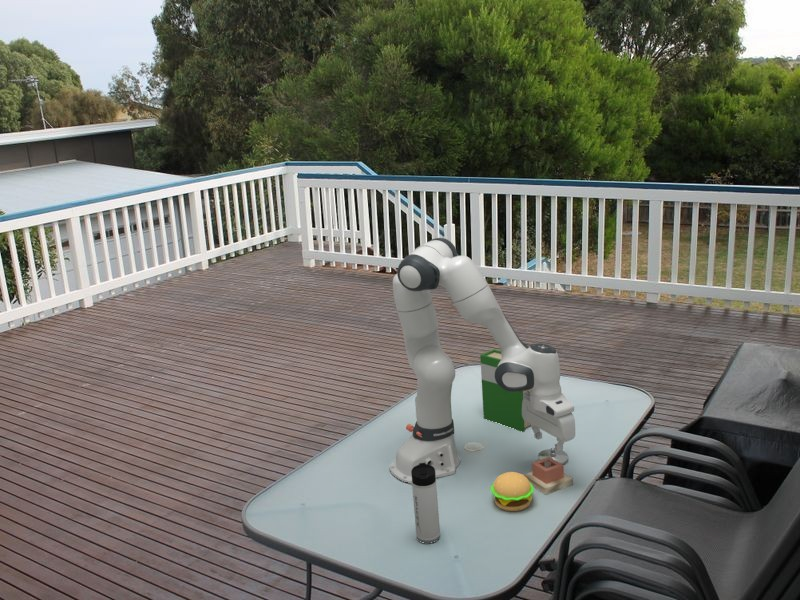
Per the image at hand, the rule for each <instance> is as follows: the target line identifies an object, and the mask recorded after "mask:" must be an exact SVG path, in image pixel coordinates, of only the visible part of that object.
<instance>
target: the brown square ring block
mask: <svg viewBox="0 0 800 600" xmlns="http://www.w3.org/2000/svg"><path fill="white" fill-rule="evenodd" d="M545 461H550V462H551V467H549V468H546V467H545V463H544V462H545ZM531 466H532V467H531V468H532V469H531V470H532V471H531V472H532V475H533V476H534V477H536V478H538V479H539V480H541V481H542V482H544V483H545V484H548V483H551V482H553V481H556V480H559V479H561V478H564V471H565V469H564V465H562V464H561V463H559V462H557V461H556V460H554V459H552V458H550V457H547V458H545V459H542V460H537V461H534V462H531Z"/></svg>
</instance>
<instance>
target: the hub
mask: <svg viewBox="0 0 800 600" xmlns="http://www.w3.org/2000/svg"><path fill="white" fill-rule="evenodd" d="M537 457H538V458H537V459H538V460H537V461H539V460H542V459H545V458H547V457H550V458H552V459H554V460H556V461H557V462H559V463H561V464H562V465H566V464H568V462H569V455H568V453H567V452H566V451H564V450H562V451H558V450H556V449H555V447H551V448H547V449H544V450H541V451H540V452H538V455H537Z"/></svg>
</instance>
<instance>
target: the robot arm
mask: <svg viewBox="0 0 800 600" xmlns="http://www.w3.org/2000/svg"><path fill="white" fill-rule="evenodd" d="M396 272H397V273H396V274H395V275H394V276H393V278H392V291H393V292H392V293H393V298H394V303H395V308H396V312H397V315H398V319H399V323H400V326H401V330H402V335H403V340H404V342H403V343H404V347H405V352H406V358H407V362H408V363H407V364H408V365H409V367H410V368H411V370H412V371H413V372H414V374H415V377H416V380H417V382H416V383H417V387H416V388H417V389H416V396H415V397H414V398H415V399H414V404H415V415H416V422H415V423H414V425H412V424H411V423H407V424H406V426H405V430H407V431H408V432H410V433H411V432H412V434H411V435H410V437H408V439H407V440H406V441H405V442H403V444H402V445H401V446H399V447H398V449H397V451H396V456H395V461H393V462H391V463H389V465H388V466H389V468H390V469H389V472H390V471H391V472H390V473H391V474H393V475H394V476H395V478H396V477H397V478H398V479H397V478H396V479H397V480H399V479H400V480H402V481H401V482H403V481H404V482H403V483H405V482H408V483H407V484H412V475H411V471H412V469H413V468H414V467H415V466H417V465H419V463H426V464H428V465H431V466H433V467H434V468H435V475H436V479H438V478H442V477H446V476H451V475H454V474H456V472H457V471H456V469H457V467H458V466H459V465H460V464H461V459H460V456H459V454H458V451H457V447H456V443H455V442H456V441H455V436H454V435H455V423H454V419H453V416H452V414H453V413H452V399H451V398H452V389H453V383H454V382H455V381H454V380H455V378H456V370H455V365H454V363H453V360H452V358H450V356H449V355H448V354H447V353H446V352H445V351H444V349H443V347H442V346H441V343H440V334H439V325H440V323H439V320H438V316H437V311H436V308H435V305H434V300H433V297H432V293H431V291H433V290H436V289H437V288H438V286H441V287H443V288H444V289H445V290H446V292H447V293H448V295H449V297H450V299H451V301H452V302H453V306H454V307H455V309H456V310H457V312H458V313H459V314H460V315H461V317H462V318H463V319H464V320H465V321H466V322H468V323H471V324H479V325H482V326H483V327H486V329H487V330H488V332H489V333H490V334H491V336H492V338H493V339H494V342H495V343H496V345H497V346H498V348H499V351H501V355H502V358H501V361H500V362H499V364H498V366H497V368H496V370H495V380H496V382H497V384H498V385H499V386H500V387H501V388H502V389H504V390H506V391H509V392H517V391H525V390H529V389H530V391H526V392H525V393H524V395H523V397H524V399H523V401H522V417H523V419H524V420H525V421H526V422H528V423H530V424H531V425H530V427H531V429H532V432H533V433H534V438H535V439H536V440H541V439H542V438H543V432H541V431H544V432H545V433H547V434H549V435H551V436H553V437H554V438H555V439H556V441H557V443H554V448H555V449H556V450H558V451H564V444H565V443H566V442H569V441H571V440H573V439H574V438H575V437H576V419H575V416H574V414H573V412H575V405H574V404H573V403H572V402H571V401H570V400H569V399H568V398H567V397H566V396H565V395H564V394H563V393H562V386H561V383H560V379H561V364H560V359H559V358H560V357H559V355H558V352H557V349H555V347H554V346H551V345H550V344H546V343H533V344H531V345H530V346H528V345H527V344H526V343H524V342H523V341H522V340H521V339H520V338H519V336H518V334H517V332H516V331H515V329H514V327H513V326H512V324H511V323H510V321H509V320H508V318H507V316H506V315H505V313H504V312H503V310H502V309H501V307H500V304H499V303H498V301H497V299H496V297H495V295H494V293H493V291H492V289H491V287H490V285H489V284H488V281H487V279H486V278H485V276H484V275H483V273H482V272H481V270H480V269H479V267H478V266H477V264H475V261H473V259H471V258H470V257H468V256H467V255H458V251H457V248H456V246H455V245H454V244H453V242H452V241H450V240H449V239H447V238H444V237H435V238H432V239H430V240H428V241H427V242H425V243H422V244H421V245H419V246H418V247H416V248H415V249H414V250H413V251H411V252H410V254H408V255H406V256H405V257H404V258H402V260H401V261H400V263H399V265H398V267H397V271H396ZM393 475H392V476H393ZM394 476H393V477H394ZM437 477H438V478H437ZM400 480H399V481H400Z"/></svg>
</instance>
